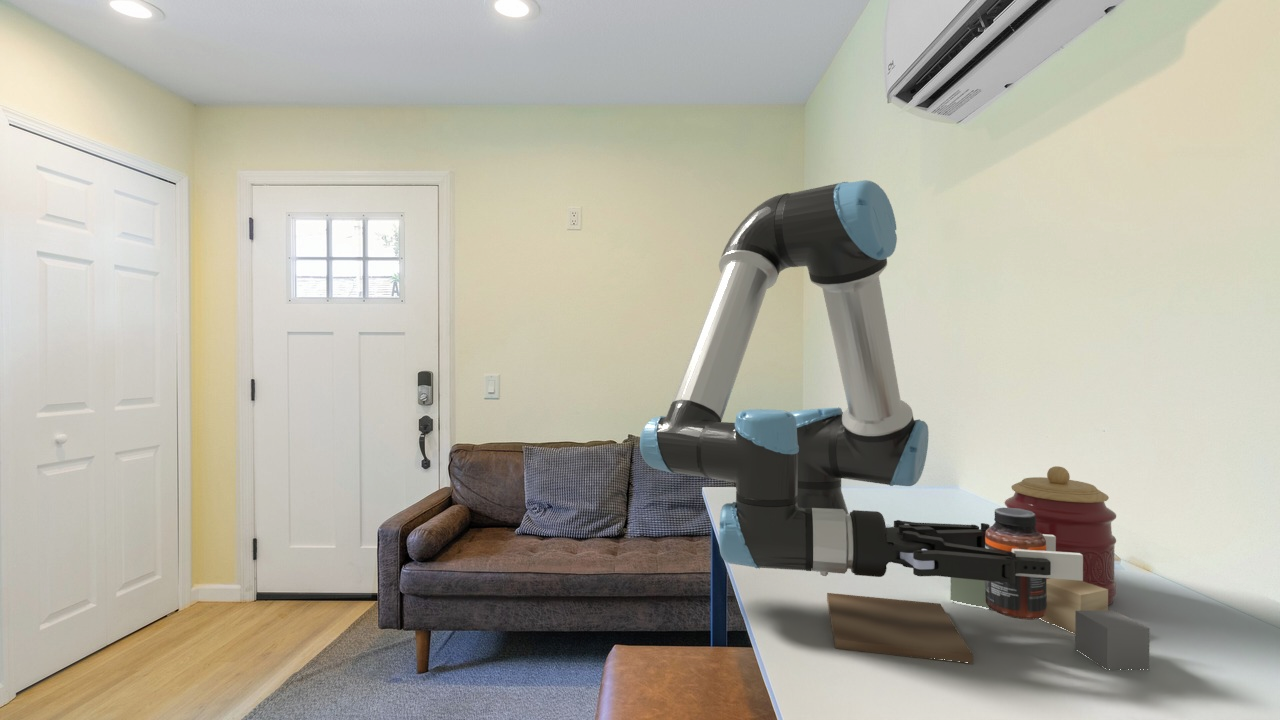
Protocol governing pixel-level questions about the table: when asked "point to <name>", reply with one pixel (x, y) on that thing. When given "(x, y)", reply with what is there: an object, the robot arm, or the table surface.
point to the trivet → (895, 628)
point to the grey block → (1112, 640)
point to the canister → (1072, 521)
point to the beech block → (1072, 601)
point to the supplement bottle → (1027, 592)
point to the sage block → (968, 591)
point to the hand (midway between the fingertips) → (1066, 556)
